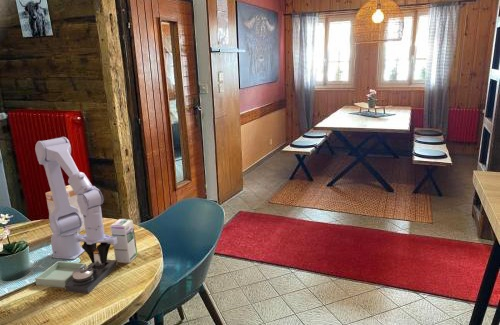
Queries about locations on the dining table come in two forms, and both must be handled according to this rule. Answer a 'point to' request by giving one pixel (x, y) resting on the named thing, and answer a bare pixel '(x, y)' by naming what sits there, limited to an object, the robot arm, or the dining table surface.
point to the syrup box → (124, 240)
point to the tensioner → (89, 277)
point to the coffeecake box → (72, 201)
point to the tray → (58, 274)
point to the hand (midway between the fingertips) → (99, 261)
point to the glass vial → (97, 259)
